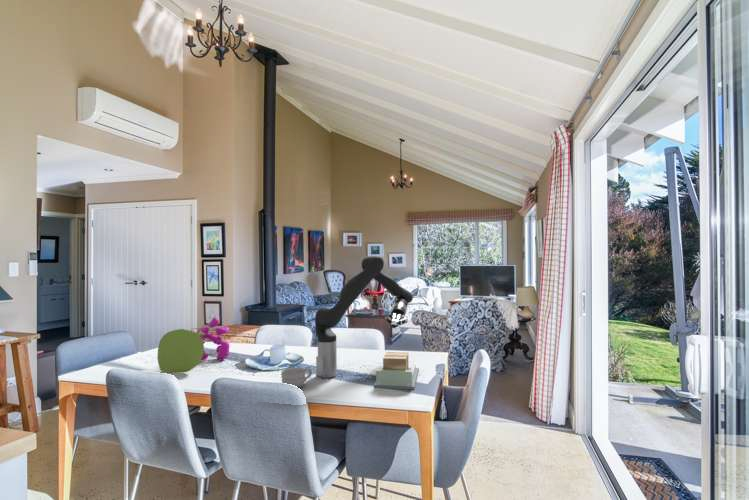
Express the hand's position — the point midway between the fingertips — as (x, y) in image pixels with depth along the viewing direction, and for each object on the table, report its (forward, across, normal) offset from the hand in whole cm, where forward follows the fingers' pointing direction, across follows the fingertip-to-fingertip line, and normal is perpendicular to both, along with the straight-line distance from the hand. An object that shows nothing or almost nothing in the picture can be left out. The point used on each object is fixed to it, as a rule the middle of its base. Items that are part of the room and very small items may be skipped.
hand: (393, 326), depth 221 cm
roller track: (+21, +7, +16) cm, 27 cm away
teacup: (+41, -36, +15) cm, 57 cm away
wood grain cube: (+26, +7, +12) cm, 30 cm away
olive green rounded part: (+16, -106, +32) cm, 111 cm away
